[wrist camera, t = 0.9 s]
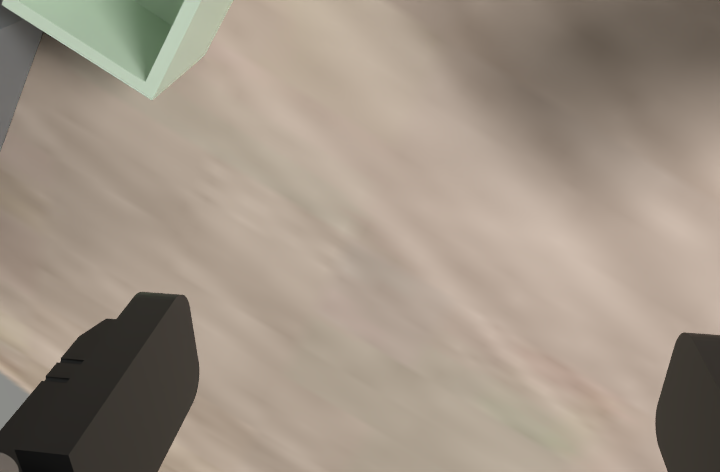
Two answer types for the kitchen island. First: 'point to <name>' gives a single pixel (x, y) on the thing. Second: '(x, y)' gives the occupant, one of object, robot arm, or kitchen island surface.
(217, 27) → the sage crate
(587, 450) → the kitchen island surface
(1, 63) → the charcoal crate
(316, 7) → the kitchen island surface
